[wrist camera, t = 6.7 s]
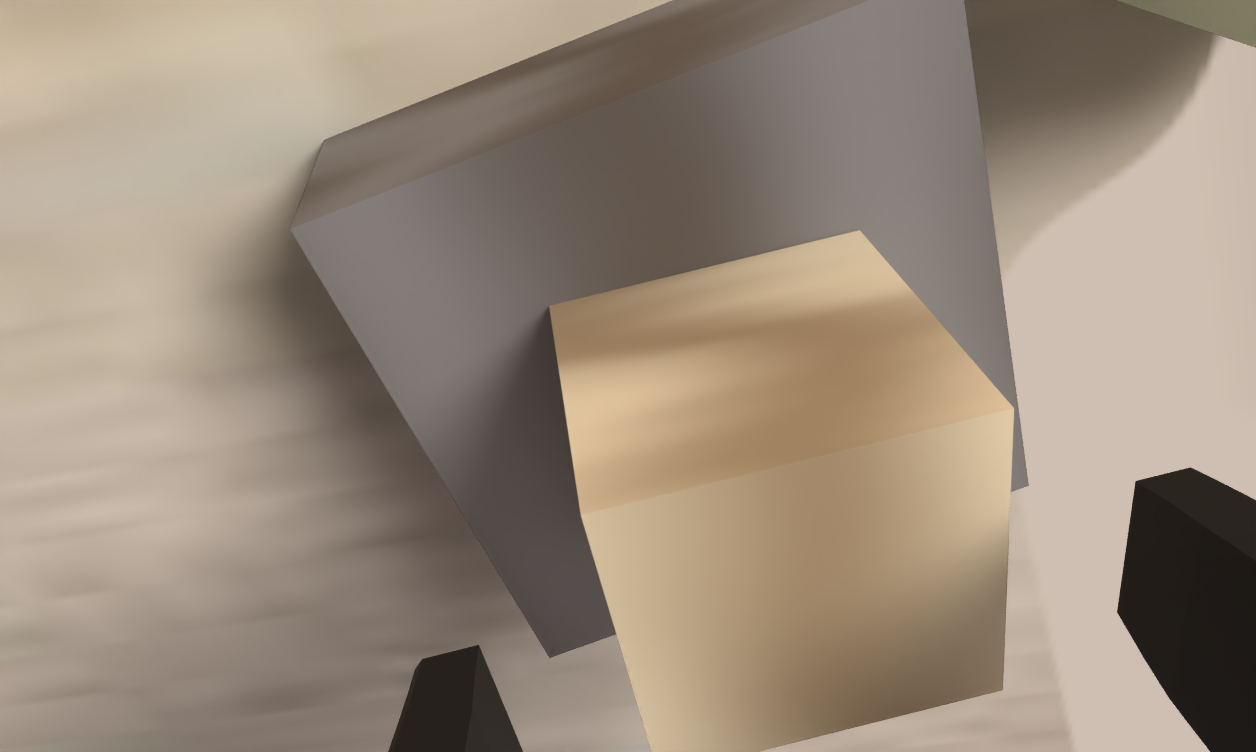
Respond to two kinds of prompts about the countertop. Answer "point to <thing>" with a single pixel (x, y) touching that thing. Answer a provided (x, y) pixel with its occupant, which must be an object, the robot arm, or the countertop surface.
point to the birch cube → (788, 496)
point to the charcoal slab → (640, 227)
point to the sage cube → (1208, 15)
